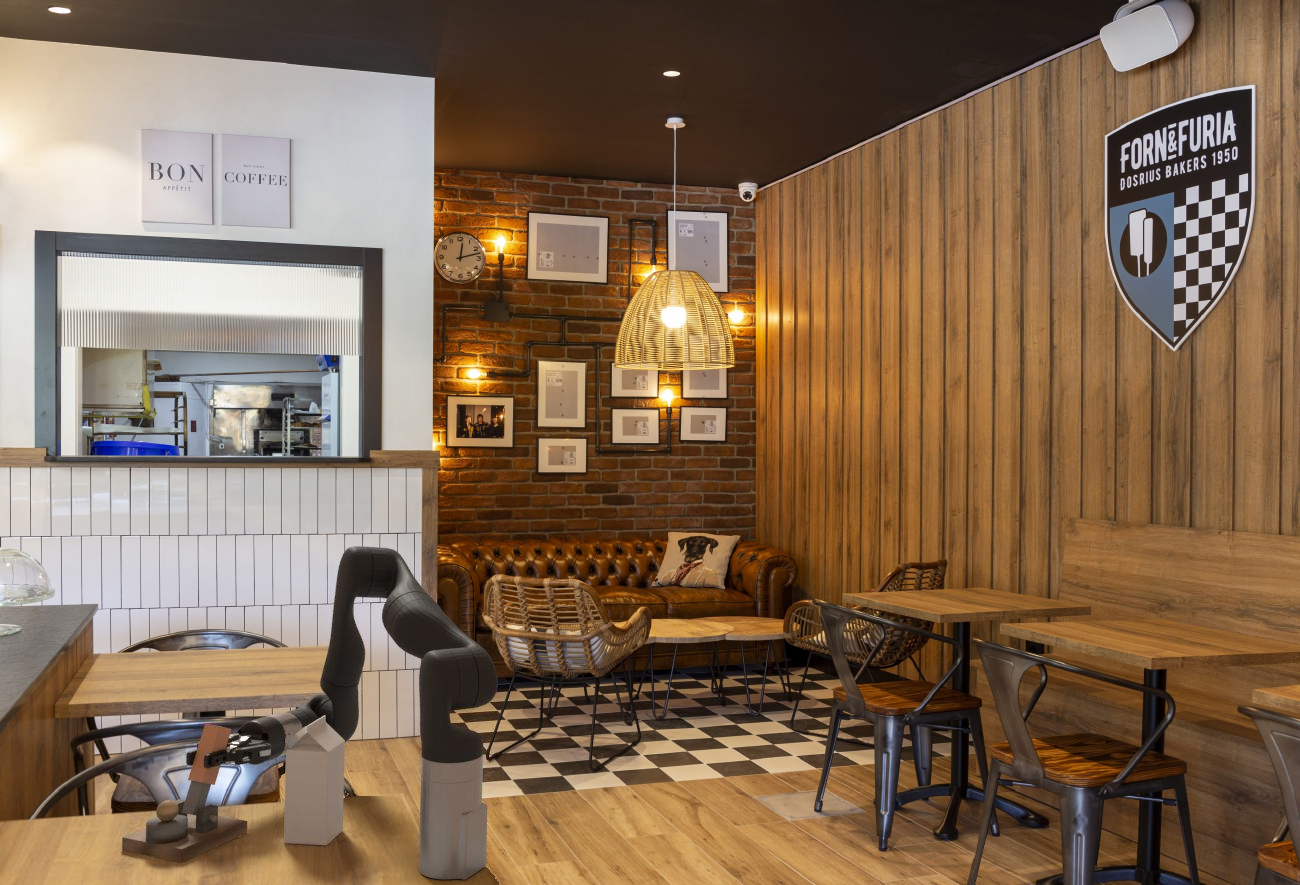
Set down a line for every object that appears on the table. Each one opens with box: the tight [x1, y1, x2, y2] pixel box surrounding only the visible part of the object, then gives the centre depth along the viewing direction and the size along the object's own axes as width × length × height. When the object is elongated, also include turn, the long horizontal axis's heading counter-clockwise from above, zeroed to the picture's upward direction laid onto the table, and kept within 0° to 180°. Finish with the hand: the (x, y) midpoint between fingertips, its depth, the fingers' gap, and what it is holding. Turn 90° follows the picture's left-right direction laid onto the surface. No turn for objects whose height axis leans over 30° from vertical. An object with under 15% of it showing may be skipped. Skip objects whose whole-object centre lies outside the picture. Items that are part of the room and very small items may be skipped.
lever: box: [181, 723, 232, 815], centre depth 178 cm, size 3×3×14 cm
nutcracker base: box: [121, 798, 248, 863], centre depth 174 cm, size 12×14×8 cm
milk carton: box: [283, 715, 346, 846], centre depth 177 cm, size 7×7×19 cm
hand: (197, 760), depth 176 cm, fingers closed on lever, 3 cm apart
